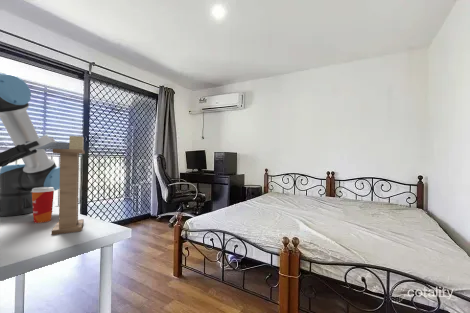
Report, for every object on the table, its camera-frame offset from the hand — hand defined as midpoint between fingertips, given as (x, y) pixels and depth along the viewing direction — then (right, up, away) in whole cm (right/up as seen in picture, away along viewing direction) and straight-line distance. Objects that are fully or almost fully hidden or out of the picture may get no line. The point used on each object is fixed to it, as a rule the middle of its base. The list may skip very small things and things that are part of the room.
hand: (51, 139), depth 82 cm
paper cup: (-14, -34, +12) cm, 38 cm away
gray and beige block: (+1, -4, +1) cm, 4 cm away
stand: (+4, -34, +3) cm, 34 cm away
